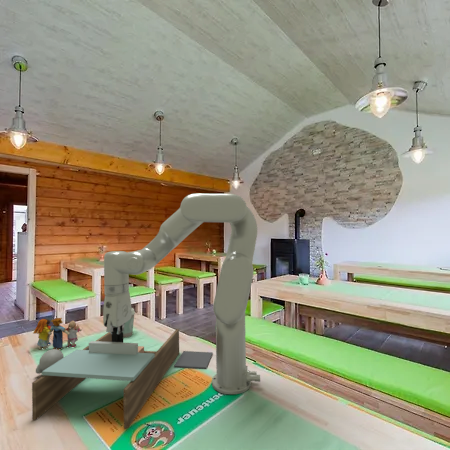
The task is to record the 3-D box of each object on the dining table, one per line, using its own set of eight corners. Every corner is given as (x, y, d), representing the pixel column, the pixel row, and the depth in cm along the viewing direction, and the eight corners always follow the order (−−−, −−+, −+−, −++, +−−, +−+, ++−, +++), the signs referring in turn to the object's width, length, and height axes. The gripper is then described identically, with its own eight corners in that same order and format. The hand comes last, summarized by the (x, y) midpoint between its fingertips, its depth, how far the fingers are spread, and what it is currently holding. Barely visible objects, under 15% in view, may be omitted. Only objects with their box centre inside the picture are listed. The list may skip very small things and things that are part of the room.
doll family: (83, 345, 121) (82, 315, 121) (67, 355, 111) (66, 322, 112) (41, 342, 124) (41, 313, 125) (22, 351, 115) (22, 320, 115)
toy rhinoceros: (55, 391, 91) (62, 368, 90) (30, 372, 94) (37, 350, 93) (74, 379, 98) (80, 358, 97) (49, 362, 101) (56, 342, 100)
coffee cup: (131, 338, 127) (131, 312, 127) (113, 338, 127) (112, 312, 127) (137, 331, 135) (137, 307, 136) (120, 331, 136) (120, 307, 136)
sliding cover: (154, 356, 87) (154, 343, 87) (133, 381, 73) (133, 365, 73) (76, 352, 91) (76, 340, 91) (42, 375, 77) (42, 360, 77)
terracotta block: (144, 362, 104) (144, 346, 104) (138, 369, 99) (137, 352, 99) (131, 361, 105) (131, 345, 105) (125, 368, 100) (124, 351, 100)
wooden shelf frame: (179, 353, 111) (178, 329, 111) (127, 428, 69) (127, 389, 69) (116, 350, 115) (116, 326, 115) (32, 419, 73) (32, 382, 73)
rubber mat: (212, 353, 110) (212, 352, 110) (206, 369, 98) (206, 367, 98) (183, 352, 112) (183, 351, 112) (173, 367, 100) (173, 365, 100)
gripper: (115, 294, 83) (115, 356, 82) (138, 284, 97) (138, 336, 97) (92, 294, 84) (92, 354, 84) (118, 284, 99) (119, 335, 98)
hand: (117, 344), depth 90 cm, fingers closed
